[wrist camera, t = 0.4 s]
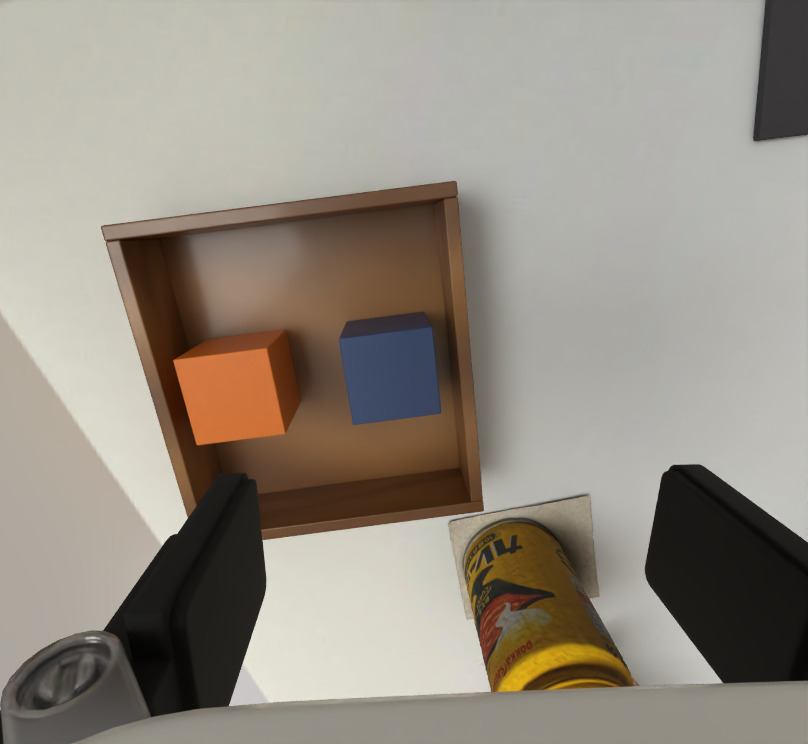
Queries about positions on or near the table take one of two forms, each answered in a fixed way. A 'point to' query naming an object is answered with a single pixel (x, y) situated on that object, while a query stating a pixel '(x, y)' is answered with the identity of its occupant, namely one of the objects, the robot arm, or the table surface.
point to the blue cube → (390, 368)
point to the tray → (312, 348)
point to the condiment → (536, 598)
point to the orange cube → (239, 387)
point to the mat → (783, 71)
